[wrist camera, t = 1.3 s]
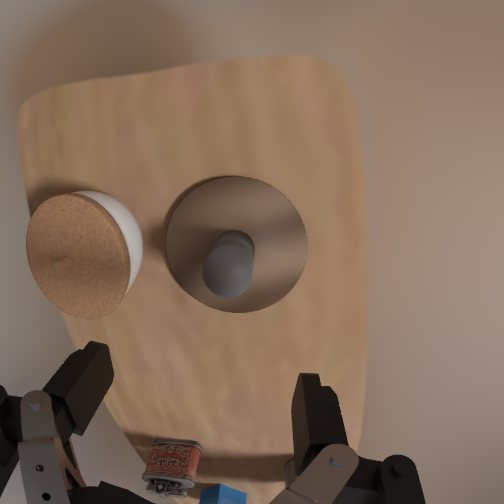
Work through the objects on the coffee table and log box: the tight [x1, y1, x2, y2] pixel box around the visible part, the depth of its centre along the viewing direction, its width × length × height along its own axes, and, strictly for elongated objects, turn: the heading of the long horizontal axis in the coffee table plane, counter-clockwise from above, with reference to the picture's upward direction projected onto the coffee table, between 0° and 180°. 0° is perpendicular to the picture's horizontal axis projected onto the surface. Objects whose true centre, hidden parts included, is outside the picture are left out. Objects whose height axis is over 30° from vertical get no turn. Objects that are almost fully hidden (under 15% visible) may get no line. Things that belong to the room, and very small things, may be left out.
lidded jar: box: [26, 191, 143, 319], centre depth 24 cm, size 11×11×9 cm
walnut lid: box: [166, 176, 308, 313], centre depth 25 cm, size 13×13×7 cm
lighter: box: [142, 439, 202, 498], centre depth 34 cm, size 8×3×10 cm, turn 102°
